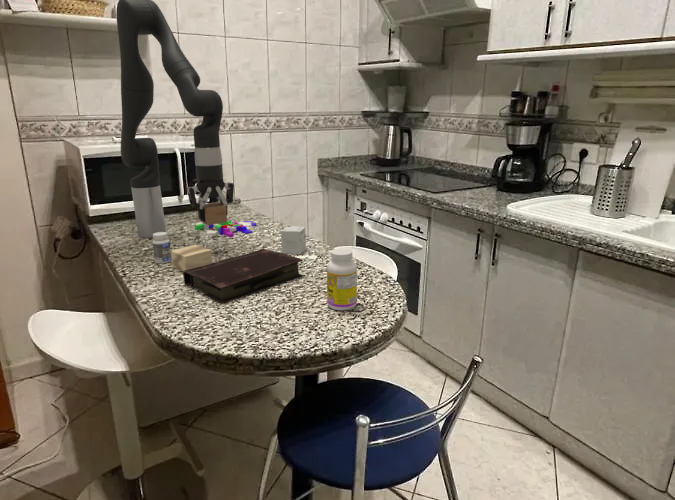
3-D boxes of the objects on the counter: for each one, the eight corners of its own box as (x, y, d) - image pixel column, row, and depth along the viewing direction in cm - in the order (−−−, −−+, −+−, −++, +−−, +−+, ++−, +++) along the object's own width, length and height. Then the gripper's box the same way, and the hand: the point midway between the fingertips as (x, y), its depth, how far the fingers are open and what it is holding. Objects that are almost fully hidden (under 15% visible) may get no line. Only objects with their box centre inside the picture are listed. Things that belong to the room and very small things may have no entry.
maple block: (172, 267, 129) (170, 250, 127) (198, 260, 134) (196, 244, 133) (186, 274, 123) (184, 256, 122) (212, 266, 129) (211, 250, 127)
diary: (184, 287, 116) (181, 268, 115) (263, 263, 133) (262, 246, 132) (223, 307, 104) (221, 286, 102) (305, 278, 121) (305, 260, 119)
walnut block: (200, 220, 138) (198, 204, 136) (219, 217, 141) (217, 202, 140) (208, 225, 133) (206, 208, 132) (227, 222, 137) (226, 205, 135)
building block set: (269, 230, 167) (268, 219, 166) (217, 241, 154) (216, 228, 153) (236, 218, 185) (235, 208, 184) (187, 227, 173) (186, 216, 171)
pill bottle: (166, 264, 131) (162, 236, 128) (151, 263, 132) (147, 235, 129) (175, 259, 135) (171, 231, 133) (160, 258, 136) (157, 231, 134)
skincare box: (300, 255, 138) (299, 231, 136) (281, 253, 139) (280, 230, 137) (306, 249, 144) (305, 226, 141) (288, 247, 145) (287, 225, 143)
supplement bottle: (326, 300, 106) (325, 247, 102) (354, 298, 106) (354, 246, 102) (328, 312, 99) (327, 256, 96) (358, 311, 100) (358, 255, 96)
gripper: (226, 159, 139) (230, 213, 144) (179, 163, 130) (185, 220, 136) (237, 162, 133) (241, 218, 138) (189, 166, 125) (195, 225, 130)
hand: (213, 218), depth 137 cm, fingers closed on walnut block, 6 cm apart
